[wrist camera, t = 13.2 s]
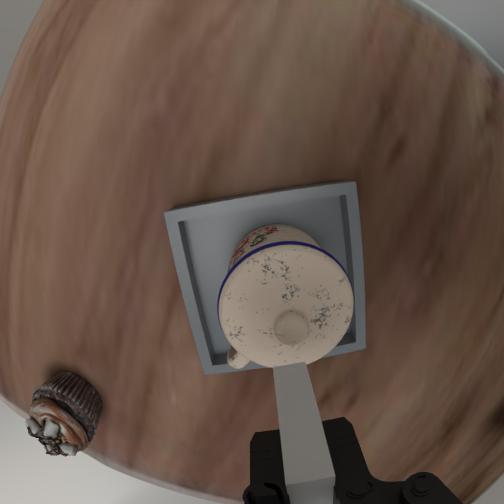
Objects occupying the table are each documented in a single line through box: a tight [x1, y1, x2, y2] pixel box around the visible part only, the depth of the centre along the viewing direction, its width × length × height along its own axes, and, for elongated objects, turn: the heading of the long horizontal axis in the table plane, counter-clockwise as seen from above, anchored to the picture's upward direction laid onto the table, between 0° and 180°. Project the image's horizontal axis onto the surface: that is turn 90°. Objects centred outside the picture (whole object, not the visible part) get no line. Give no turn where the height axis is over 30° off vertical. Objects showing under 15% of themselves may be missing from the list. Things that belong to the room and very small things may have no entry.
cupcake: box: [25, 372, 102, 456], centre depth 29 cm, size 10×10×10 cm
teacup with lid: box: [217, 224, 354, 369], centre depth 23 cm, size 12×9×12 cm
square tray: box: [164, 180, 366, 374], centre depth 28 cm, size 16×16×3 cm
